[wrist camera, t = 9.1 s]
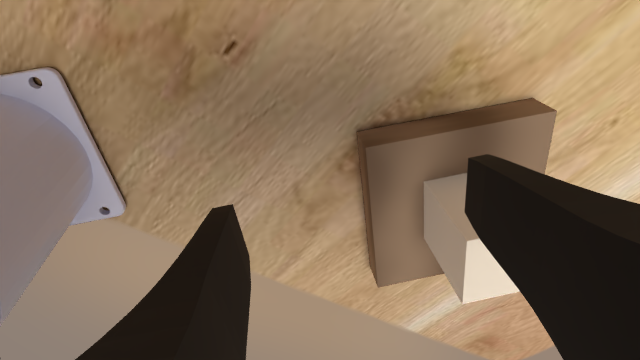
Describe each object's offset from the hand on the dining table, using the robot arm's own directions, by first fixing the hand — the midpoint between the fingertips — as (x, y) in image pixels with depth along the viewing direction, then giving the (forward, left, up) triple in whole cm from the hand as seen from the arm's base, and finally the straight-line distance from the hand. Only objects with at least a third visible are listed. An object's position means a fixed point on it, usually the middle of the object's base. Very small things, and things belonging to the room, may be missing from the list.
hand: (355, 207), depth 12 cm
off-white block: (+7, -7, -7) cm, 12 cm away
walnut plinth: (+7, -7, -9) cm, 14 cm away
